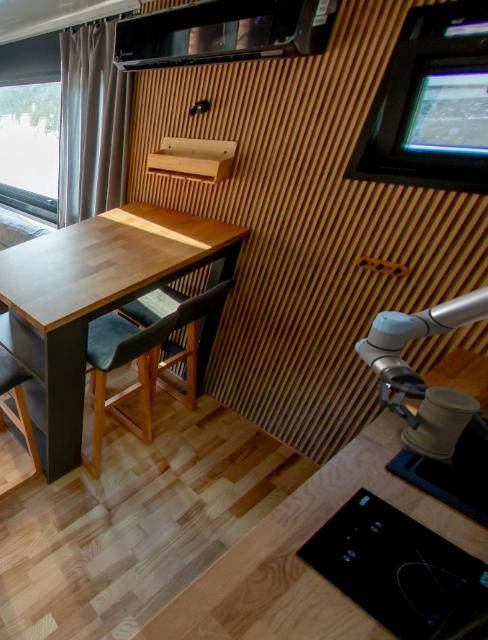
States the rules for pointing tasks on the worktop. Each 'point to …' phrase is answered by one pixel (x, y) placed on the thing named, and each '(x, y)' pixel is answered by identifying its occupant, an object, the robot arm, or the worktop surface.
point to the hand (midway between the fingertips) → (451, 431)
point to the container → (440, 422)
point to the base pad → (407, 448)
